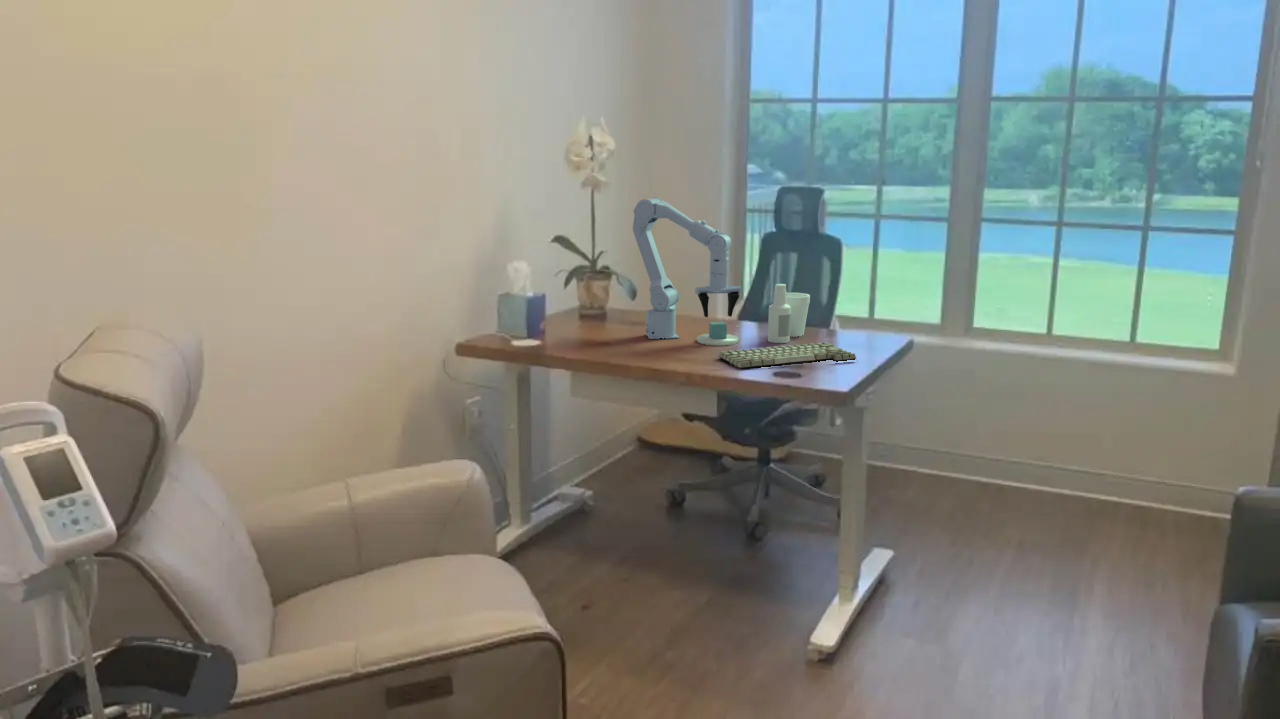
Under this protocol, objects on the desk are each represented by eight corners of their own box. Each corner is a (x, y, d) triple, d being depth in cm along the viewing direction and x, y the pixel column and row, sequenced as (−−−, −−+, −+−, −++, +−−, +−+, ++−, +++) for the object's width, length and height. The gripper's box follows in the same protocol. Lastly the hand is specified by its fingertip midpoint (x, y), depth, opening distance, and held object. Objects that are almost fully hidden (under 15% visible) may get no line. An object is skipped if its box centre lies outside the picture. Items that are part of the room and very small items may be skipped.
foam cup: (809, 337, 324) (811, 297, 321) (780, 337, 324) (782, 297, 321) (805, 331, 333) (807, 292, 330) (777, 331, 334) (779, 292, 331)
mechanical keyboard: (743, 374, 279) (743, 362, 278) (714, 360, 296) (714, 349, 296) (861, 364, 292) (861, 353, 291) (826, 351, 310) (826, 340, 309)
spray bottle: (788, 344, 315) (791, 286, 311) (766, 343, 316) (768, 285, 312) (790, 339, 321) (792, 283, 317) (768, 338, 323) (770, 282, 319)
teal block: (712, 339, 315) (712, 325, 314) (708, 336, 320) (709, 322, 319) (726, 338, 316) (726, 324, 315) (722, 336, 321) (723, 322, 320)
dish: (702, 346, 311) (702, 342, 311) (692, 337, 323) (692, 334, 323) (743, 344, 313) (743, 341, 313) (732, 336, 326) (732, 332, 325)
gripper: (699, 275, 308) (698, 319, 311) (745, 274, 311) (743, 318, 314) (693, 272, 315) (692, 315, 318) (739, 271, 318) (737, 313, 321)
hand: (717, 316), depth 317 cm, fingers open, 7 cm apart
